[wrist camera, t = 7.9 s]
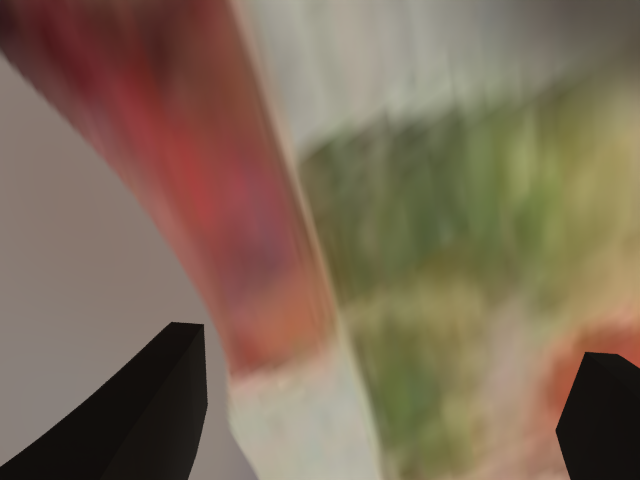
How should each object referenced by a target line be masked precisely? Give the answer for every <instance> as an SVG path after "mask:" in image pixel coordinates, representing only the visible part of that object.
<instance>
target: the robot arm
mask: <svg viewBox="0 0 640 480" xmlns="http://www.w3.org/2000/svg"><path fill="white" fill-rule="evenodd" d="M205 362H206V360H205V340H204V324H192V323H179V322H171V323H170V324H169V325H167V326H166V327H165V328H164V329H163V330H162V331H161V332H160V333H159V334H158V335H157V336H156V337H154V338H153V339H152V340H151V341H150V342H149V343H148V344H147V345H146V346H145V347H144V348H143V349H142V350H141V351H140V352H139V353H137V355H135V356H134V357H133V358H132V359H131V360H130V361H129V362H128V363H127V364H126V365H125V366H124V367H122V368H121V369H120V370H119V371H118V372H117V373H116V374H115V375H114V376H112V377H111V378H110V379H109V380H108V381H107V382H106V383H105V384H103V385H102V386H101V387H100V388H99V389H98V390H97V391H96V392H95V393H93V394H92V395H91V396H90V397H89V398H88V399H87V400H85V401H84V402H83V403H82V404H81V405H79V406H78V407H77V408H76V409H74V410H73V411H72V412H71V413H70V414H68V415H67V416H66V417H65V418H63V419H62V420H61V421H60V422H58V423H57V424H56V425H55V426H53V427H52V428H51V429H50V430H49V431H47V432H46V433H45V434H44V435H42V436H41V437H40V438H39V439H37V440H36V441H35V442H33V443H32V444H31V445H30V446H28V447H27V448H25V449H24V450H23V451H21V452H20V453H19V454H18V455H16V456H15V457H13V458H12V459H11V460H9V461H8V462H6V463H5V464H4V465H2V466H1V467H0V480H188V477H189V474H190V472H191V468H192V466H193V463H194V460H195V457H196V454H197V449H198V445H199V441H200V437H201V433H202V428H203V424H204V420H205V415H206V411H207V406H208V403H207V384H206V383H207V382H206V363H205ZM555 431H556V434H557V438H558V441H559V444H560V448H561V451H562V455H563V458H564V461H565V464H566V467H567V470H568V473H569V476H570V479H571V480H640V368H638V367H637V366H635V365H634V364H632V363H631V362H629V361H628V360H626V359H625V358H623V357H621V356H620V355H618V354H608V353H594V352H585V354H584V357H583V359H582V362H581V365H580V367H579V370H578V373H577V375H576V378H575V380H574V383H573V386H572V388H571V391H570V394H569V396H568V399H567V401H566V404H565V407H564V409H563V412H562V415H561V417H560V420H559V422H558V425H557V428H556V430H555Z"/></svg>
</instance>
